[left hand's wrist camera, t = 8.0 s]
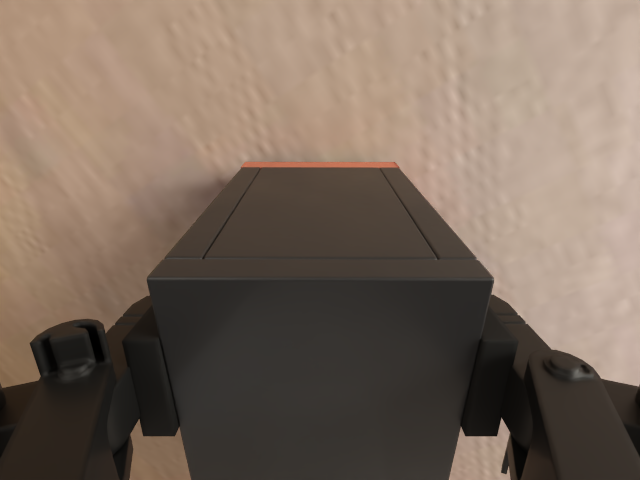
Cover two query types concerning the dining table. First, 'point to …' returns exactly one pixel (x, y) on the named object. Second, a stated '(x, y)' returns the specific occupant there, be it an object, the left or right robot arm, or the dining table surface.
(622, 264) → the dining table surface
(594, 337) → the dining table surface
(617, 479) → the left robot arm
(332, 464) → the cabinet
